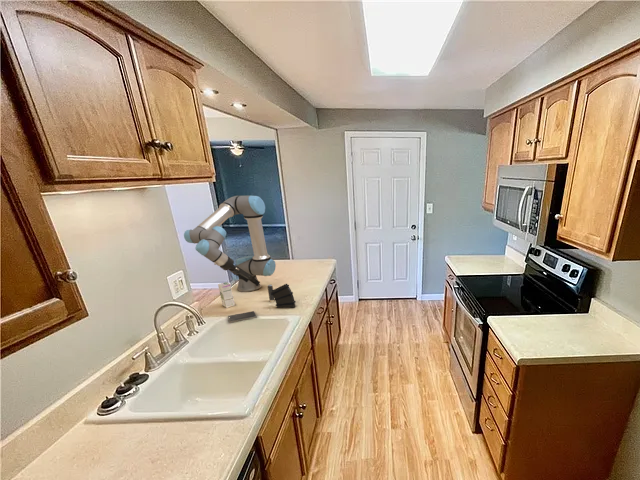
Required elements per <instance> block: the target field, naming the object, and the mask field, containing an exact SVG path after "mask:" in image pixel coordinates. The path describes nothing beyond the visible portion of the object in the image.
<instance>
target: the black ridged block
mask: <svg viewBox="0 0 640 480" xmlns="http://www.w3.org/2000/svg"><path fill="white" fill-rule="evenodd" d="M291 289H292V288H291V287H290V284H288V283H284V284H283V285H280V286H278V287H276V288H275V289H274V288H273V290H272V291H271V293H272V294H271V295H273V297H274V302H275V306H276V308H277V309H295V308H296V300H295V297H294V292H293V291H292V290H291Z"/></svg>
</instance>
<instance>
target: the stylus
mask: <svg viewBox="0 0 640 480" xmlns="http://www.w3.org/2000/svg"><path fill="white" fill-rule="evenodd" d="M272 290H274V287H273V284H268V285H267V292H268V293H267V294H268V299H269V303H275V301H274V299H275V298H274V297H273V295H271V294H272V293H271V291H272Z"/></svg>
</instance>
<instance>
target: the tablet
mask: <svg viewBox="0 0 640 480" xmlns="http://www.w3.org/2000/svg"><path fill="white" fill-rule="evenodd" d="M229 317H230V318H229ZM227 318H228V322H229V323H230V324H231V323H236V322H242V321H246V320H253V319H257V314H256V312H255V311H254V310H253V311H246V312H241V313H235V314H229V315H228V316H227Z"/></svg>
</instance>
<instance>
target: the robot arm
mask: <svg viewBox="0 0 640 480" xmlns="http://www.w3.org/2000/svg"><path fill="white" fill-rule="evenodd" d="M265 212H266V204H265V202H264V200H263V198H261V197H260V196H258V195H233V196H231V197H229V198H227V199H225V200H224V201H223V202H221V203H220V204H219V205H218V208H217V209H215V211H214V212H212V213H211V214H209V216H207V218H205V219H204V220H203V221H201V222H200V223H199V224H198V225H197V226H196V227H195V228H193V229H186V230H185V231H184V233H183V238H184V240H185V241H186V242H187V243H189V244H196V245H195V248H194V249H195V251H196V252H197V253H199V254H200V255H201V256H202V257H204V258H206V259H208V260H209V261H210V262H212V263H213V265H214V266H217V267H219V268H220V269H222V270H223V271H229V272H231V274H233V276H236V277H238V282H237V291H238V292H241V293H243V292H244V293H247V292H248V293H249V292H255V291H258V290H259V289H261V287H262V286H261V281H259V279H258V277H257V276H259V277H260V276H261V277H269V276H272V275H274V273H275V271H276V267H277V266H276V261H275V260H274V259H272V257H271V255H270V254H269V253H268V249H267V244H266V238H265V233H264V227H263V222H262V218H263V217H264V214H265ZM236 215H243V219H245V220H246V223H247V227H248V232H249V237H250V241H251V246H252V251H253V255H248V256H242V257H239V258H236V259H235V260H234V259H232V258H231V257H230V256H228V255H227V254H226V253H225V252H223V251H222V250H220V247H221V246H222V244H223V242H224V240H225V239H226V237H227V231H226V230H225V228H223V227H222V226H221V225H223V224H224V223H225V222H226V221H227V220H228V219H229V218H232V217H235V216H236ZM234 263H235V264H234Z"/></svg>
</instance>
